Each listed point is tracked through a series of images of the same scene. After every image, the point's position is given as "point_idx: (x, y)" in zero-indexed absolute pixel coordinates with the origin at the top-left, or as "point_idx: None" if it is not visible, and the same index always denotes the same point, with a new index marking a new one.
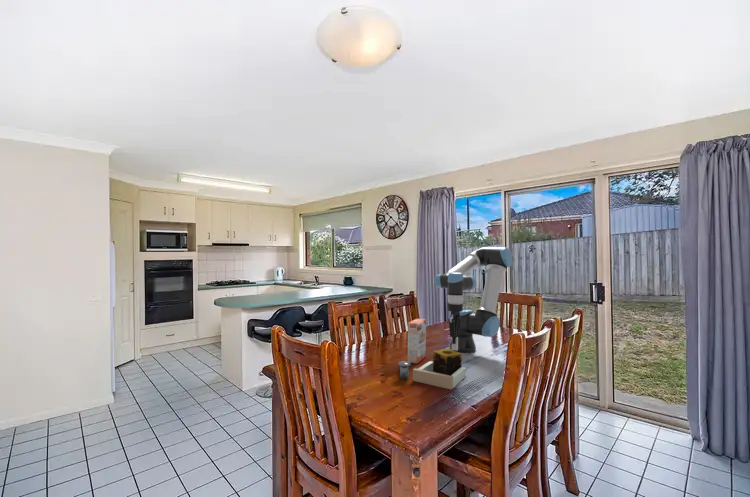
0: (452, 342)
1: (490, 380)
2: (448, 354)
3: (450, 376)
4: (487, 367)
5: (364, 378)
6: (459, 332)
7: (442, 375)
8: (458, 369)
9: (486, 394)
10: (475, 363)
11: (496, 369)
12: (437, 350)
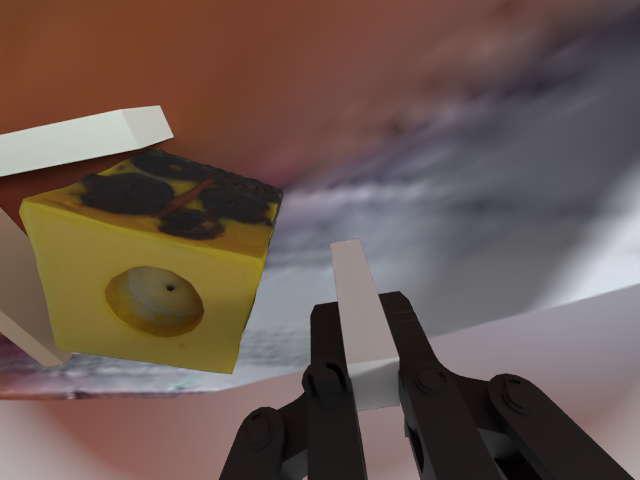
0: (311, 320)
1: (287, 360)
2: (117, 339)
3: (49, 360)
4: (424, 308)
5: None
6: (522, 464)
7: (12, 337)
8: None
9: (175, 387)
10: (457, 252)
11: None
12: (91, 221)
